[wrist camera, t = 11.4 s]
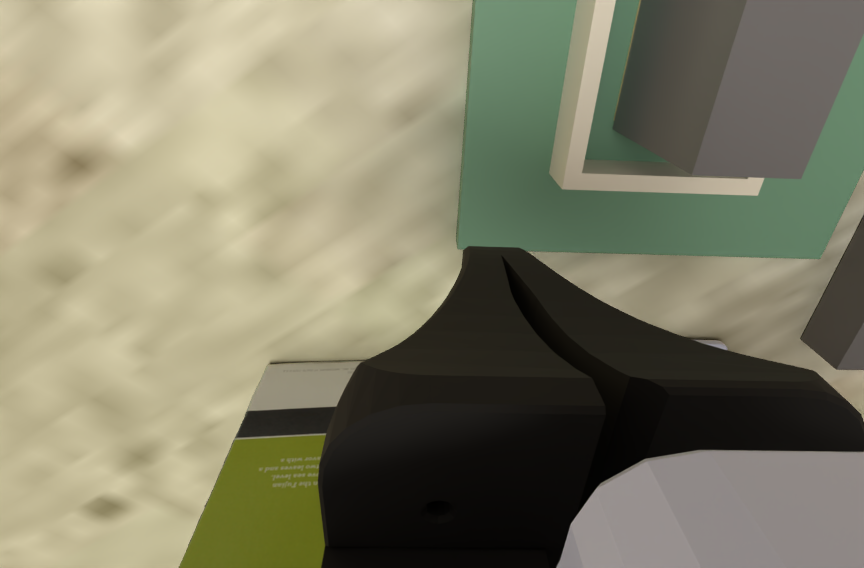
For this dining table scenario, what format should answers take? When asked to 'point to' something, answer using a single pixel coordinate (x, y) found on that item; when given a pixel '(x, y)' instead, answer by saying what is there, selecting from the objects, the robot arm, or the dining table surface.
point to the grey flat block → (842, 312)
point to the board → (619, 151)
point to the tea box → (273, 474)
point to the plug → (736, 81)
